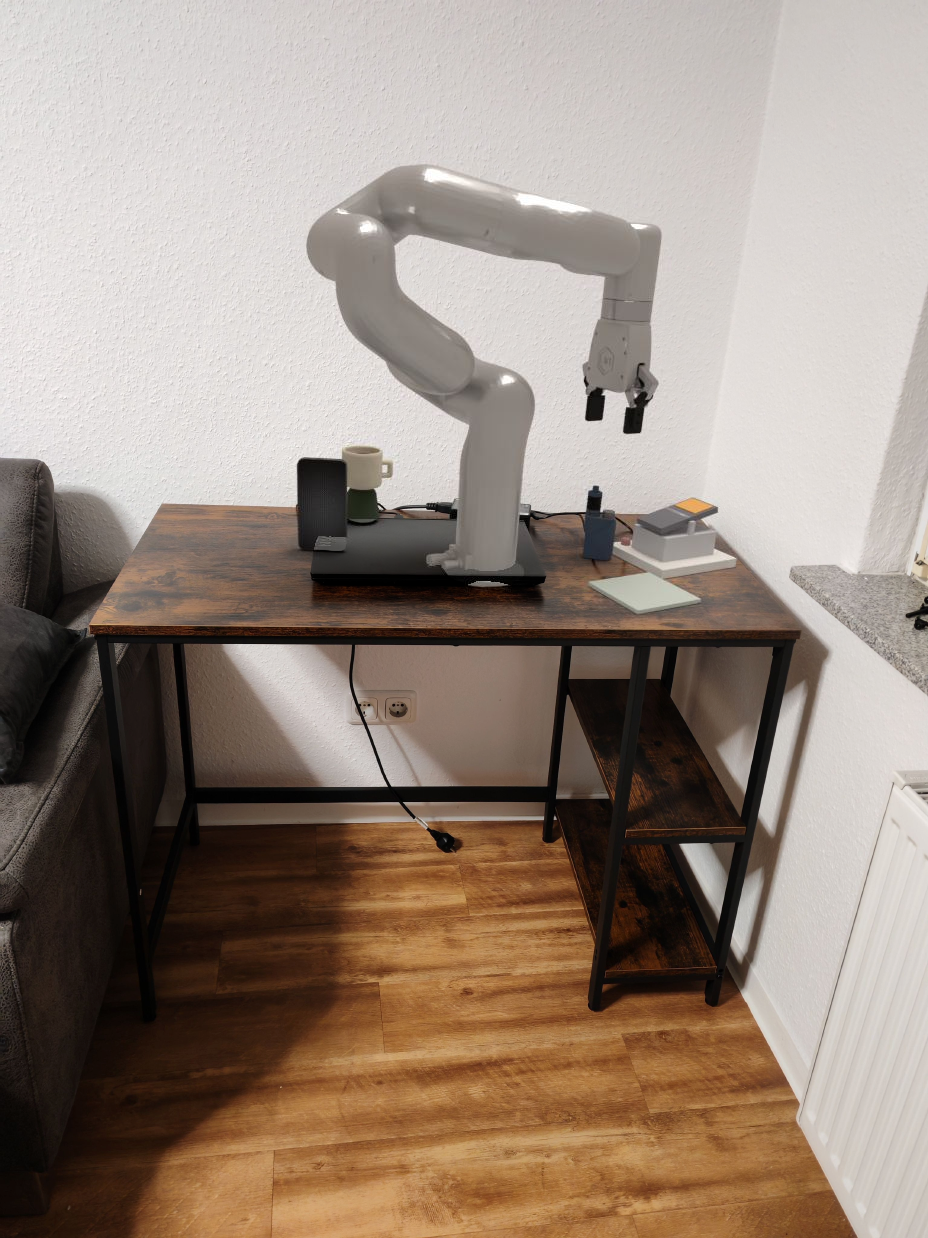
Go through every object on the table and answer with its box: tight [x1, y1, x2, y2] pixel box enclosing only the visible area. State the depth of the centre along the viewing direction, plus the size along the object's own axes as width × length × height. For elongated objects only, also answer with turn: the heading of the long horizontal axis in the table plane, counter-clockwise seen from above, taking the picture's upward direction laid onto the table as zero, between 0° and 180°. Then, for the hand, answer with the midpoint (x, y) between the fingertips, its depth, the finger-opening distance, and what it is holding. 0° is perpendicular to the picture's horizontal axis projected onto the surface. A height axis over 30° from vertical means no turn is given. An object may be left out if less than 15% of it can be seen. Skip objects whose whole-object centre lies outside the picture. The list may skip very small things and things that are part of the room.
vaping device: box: [581, 485, 617, 562], centre depth 148 cm, size 3×5×12 cm, turn 74°
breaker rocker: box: [636, 497, 719, 534], centre depth 149 cm, size 12×6×1 cm, turn 119°
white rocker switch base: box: [612, 521, 738, 580], centre depth 151 cm, size 16×14×8 cm
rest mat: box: [587, 572, 702, 615], centre depth 136 cm, size 12×12×1 cm
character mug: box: [341, 444, 394, 520], centre depth 159 cm, size 11×7×13 cm, turn 105°
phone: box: [296, 456, 348, 551], centre depth 143 cm, size 8×1×15 cm, turn 92°
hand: (612, 426), depth 142 cm, fingers open, 9 cm apart
